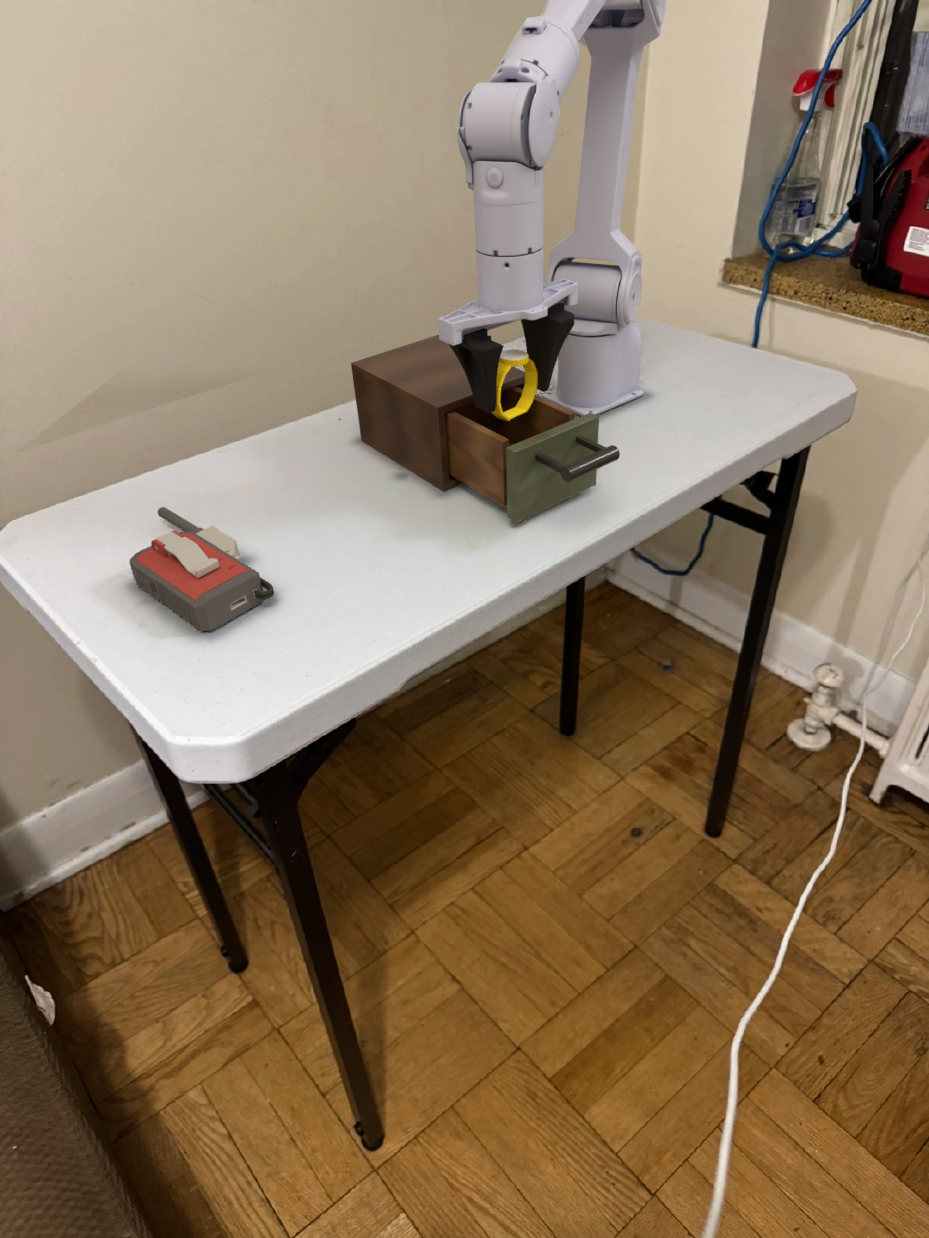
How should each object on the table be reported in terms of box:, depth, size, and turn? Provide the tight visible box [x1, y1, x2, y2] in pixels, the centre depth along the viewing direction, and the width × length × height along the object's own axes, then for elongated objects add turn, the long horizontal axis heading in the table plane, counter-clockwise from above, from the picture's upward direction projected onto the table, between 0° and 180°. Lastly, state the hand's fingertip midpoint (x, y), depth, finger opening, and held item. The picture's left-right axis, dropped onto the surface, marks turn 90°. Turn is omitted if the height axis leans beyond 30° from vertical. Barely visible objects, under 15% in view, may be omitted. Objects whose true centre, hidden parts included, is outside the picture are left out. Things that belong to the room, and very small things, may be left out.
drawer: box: [445, 386, 621, 524], centre depth 84 cm, size 19×10×7 cm, turn 38°
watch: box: [491, 349, 538, 421], centre depth 81 cm, size 6×3×6 cm, turn 139°
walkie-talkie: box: [128, 506, 275, 632], centre depth 77 cm, size 9×4×20 cm
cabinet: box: [350, 334, 525, 492], centre depth 92 cm, size 16×12×9 cm
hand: (512, 398), depth 82 cm, fingers closed on watch, 6 cm apart
